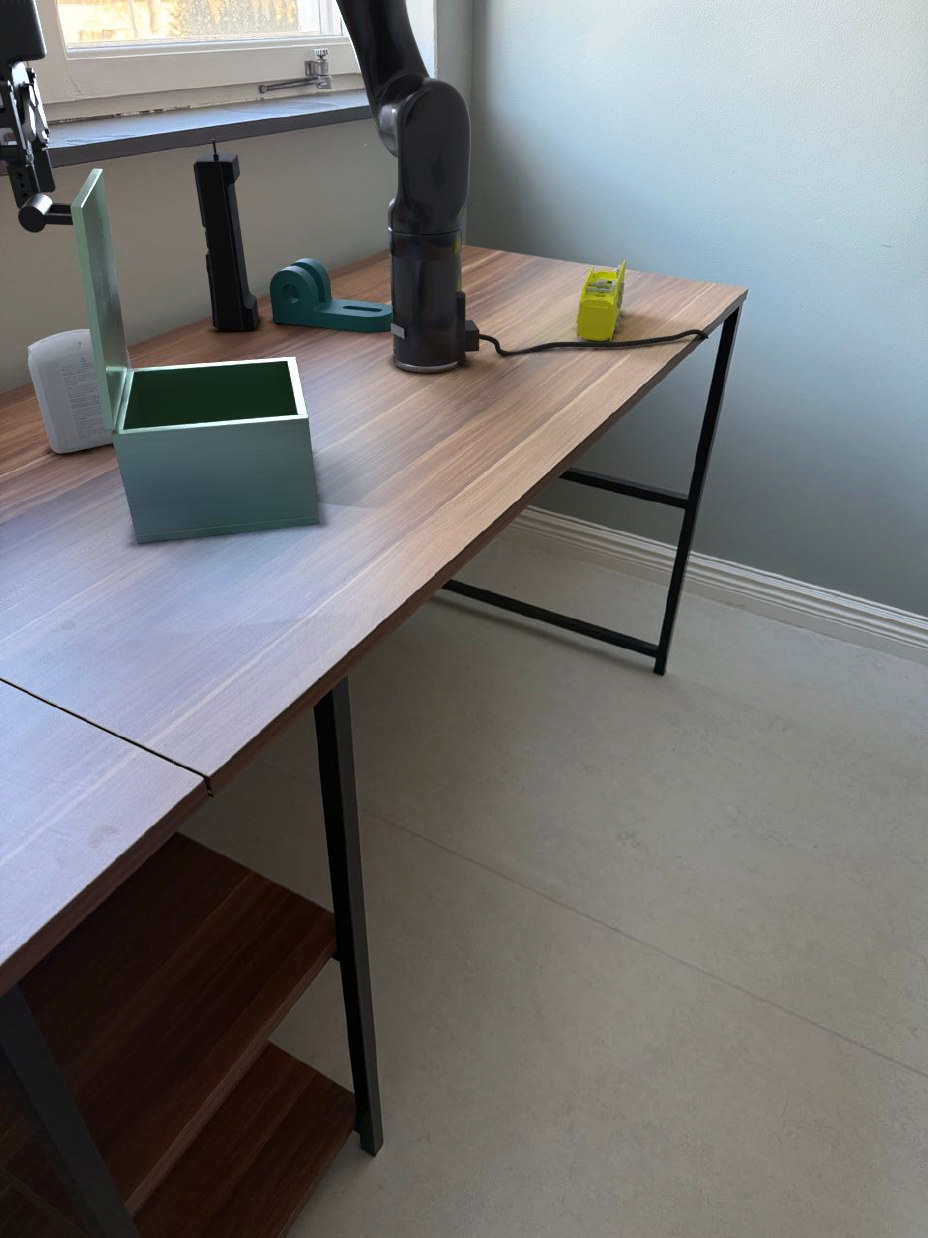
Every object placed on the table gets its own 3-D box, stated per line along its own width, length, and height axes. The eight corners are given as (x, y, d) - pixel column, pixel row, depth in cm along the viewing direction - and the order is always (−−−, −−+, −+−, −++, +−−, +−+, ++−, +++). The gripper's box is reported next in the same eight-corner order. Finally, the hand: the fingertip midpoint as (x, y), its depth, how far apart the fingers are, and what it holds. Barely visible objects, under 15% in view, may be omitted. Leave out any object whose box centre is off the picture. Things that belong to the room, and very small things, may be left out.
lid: (102, 168, 78) (33, 164, 76) (81, 206, 65) (-1, 202, 64) (128, 364, 88) (67, 364, 87) (114, 429, 75) (43, 430, 74)
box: (305, 453, 98) (295, 356, 91) (319, 524, 85) (308, 417, 79) (147, 468, 94) (125, 368, 88) (137, 543, 82) (110, 434, 76)
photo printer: (139, 424, 104) (115, 317, 96) (151, 437, 101) (127, 328, 93) (47, 444, 99) (15, 334, 92) (57, 459, 96) (24, 346, 89)
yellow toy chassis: (613, 346, 126) (620, 285, 121) (574, 342, 127) (578, 283, 122) (623, 312, 139) (629, 256, 134) (587, 309, 140) (592, 254, 135)
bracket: (273, 321, 134) (266, 267, 129) (293, 308, 139) (287, 256, 134) (384, 334, 130) (382, 278, 125) (400, 320, 135) (398, 266, 130)
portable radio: (220, 315, 136) (191, 131, 122) (259, 314, 137) (235, 131, 122) (212, 332, 130) (181, 140, 115) (254, 331, 130) (228, 140, 116)
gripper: (18, -4, 71) (70, 215, 80) (45, -8, 82) (87, 184, 91) (-84, -5, 69) (-19, 218, 79) (-43, -9, 80) (10, 187, 90)
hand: (38, 200), depth 85 cm, fingers open, 8 cm apart
